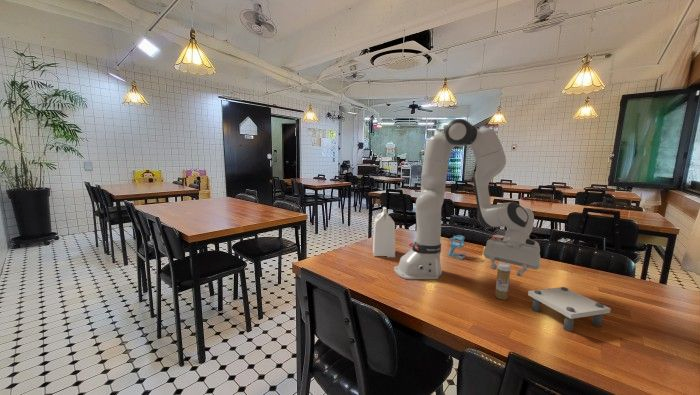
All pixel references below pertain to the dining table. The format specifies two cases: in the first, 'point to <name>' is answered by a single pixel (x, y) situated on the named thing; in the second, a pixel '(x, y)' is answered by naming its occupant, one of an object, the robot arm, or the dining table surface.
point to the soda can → (498, 237)
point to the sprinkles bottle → (502, 280)
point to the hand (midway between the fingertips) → (505, 271)
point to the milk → (384, 235)
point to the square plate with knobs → (569, 305)
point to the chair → (456, 244)
